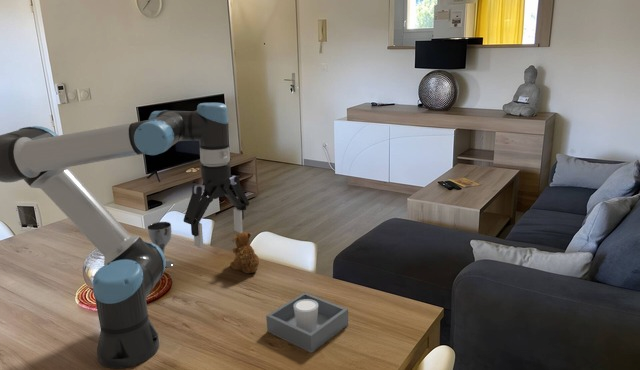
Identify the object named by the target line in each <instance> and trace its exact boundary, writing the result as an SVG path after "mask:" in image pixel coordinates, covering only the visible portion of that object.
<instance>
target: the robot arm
mask: <svg viewBox="0 0 640 370" xmlns="http://www.w3.org/2000/svg"><path fill="white" fill-rule="evenodd" d="M228 114H229V113H228V107H227V105H226V104H225V103H222V102H202V103H201V102H200V103H198V105H197V107H196V110H194V111H193V110H192V111H189V110H188V111H187V110H168V109H163V110H154V111H152V112H151V113H150V115H149V117H148V119H145V120H141V121H136V122H130V123H126V124H125V123H124V124H119V125H112V126H106V127H103V128H102V127H100V128H95V129H90V130H88V129H87V130H84V131H79V132H78V131H77V132H72V133H66V134H60V135H58V134H57V133H56V132H55V131H54V130H52V129H50V128H47V127H44V126H38V125H35V126H33V125H32V126H26V127H25V126H24V127H22V128H21V127H20V128H19V129H18V130H17V129H16V130H14V131H11V132H6V133H3V134H0V183H6V184H7V183H14V182H18V181H22V180H23V181H24V182H25V183H26V184H27V185H28V186H29V187H30V188H33V189H40V190H41V191H42V192H43V193H44V194H45V195H46V196H47V197H48V198H49V199H50V200H51V201H52V202H53V203H54V204H55V206H57V207H58V208H59V210H61V212H62V213H63V214H64V215H65V216H66V217H67V218H68V219H69V220H70V221H71V223H73V225H75V226H76V228H77V229H78V230H79V231H80V232H81V233H82V234H83V235H84V236H85V237H86V238H87V239H88V240H89V241H90V243H91V244H92V245H93V246H94V247H95V248H96V249H97V250H98V251H99V252H100V253H101V254H102V255H103V257H104V258H103V259H104V261H103V264H104V265H103V266H101V267H100V268H99V269H98V270H97V271H96V272H95V273H94V275H93V278H92V286H93V287H92V292H93V296H94V299H95V306H96V310H97V316H98V323H99V327H100V333H99V339H98V342H97V343H98V344H97V347H96V354H97V359H98V362H99V363H100V365H102V366H103V367H105V368H110V369H124V368H129V367H134V366H137V365H139V364H142V363H144V362H146V361H148V360H149V359H151V358H152V357H153V356H154V355H155V354H156V353H157V352H158V350H159V348H160V339H159V334H158V332H157V331H156V329H155V327H154V325H153V324H152V322H151V320H150V318H149V312H148V305H147V304H148V303H147V299H148V296H149V295H150V293H151V292H152V291H153V289H154V288H155V286H156V285H157V283H159V282H160V281H161V279H162V277H163V275H164V273H165V270H166V268H165V267H166V260H167V259H166V256H165V252H164V253H163V252H162V250H161V249H160V248H159V247H158V246H157V245H155V244H153V243H152V242H148V241H144V240H143V239H142V238H141V237H140V235H133V234H130V232H128V231H127V230H126V228H124V227H123V225H121V223H120V222H119V221H118V219H116V218H115V217H114V215H112V213H110V211H109V210H108V209H107V208H106V207H105V205H103V203H102V202H101V201H100V200H99V199H98V198H97V197H96V196H95V195H94V194H93V193H92V192H91V190H89V188H88V187H87V186H86V185H85V184H84V183H83V182H82V181H81V179H80V178H79V177H78V176H77V175H76V174H75V173H74V172H73V171H72V169H71V168H70V167H75V166H81V165H87V164H93V163H99V162H106V161H110V160H115V159H121V158H122V159H123V158H128V157H134V156H139V155H149V156H157V155H159V154H163V153H165V152H167V151H169V149H170V148H171V147H172V146H174V145H175V144H177V143H179V142H183V141H184V142H185V141H194V142H195V141H198V142H199V157H200V158H199V160H200V163H201V165H200V174H201V179H202V184H201V185H196V184H193V185H192V187H191V188H192V189H191V195H190V199H189V202H188V205H187V209H186V211H185V215H184V217H183V220H182V221H183V223H186V224H189V225H190V228H191V229H190V231H191V235H192V236H193V241H194V246H196V247H197V248H200V249H202V248H204V239H203V237H204V236H203V224H202V223H201V220H202V219H203V216H204V215H205V213H206V211H207V209H208V208H209V205H210V204H211V203H212V202H213V201H214V200H217V199H219V198H224V197H226V199H228V201H229V202H230V203H231V204H232V205H233V206H234V207H235V208H233V227H234V228H233V229H234V232H237V233H242V232H244V231H243V227H244V225H243V220H244V218H245V216H244V215H245V213H244V212H245V211H246V210H247V207H248V206H249V205H250V202H249V200H248V197H247V195H246V193H245V191H244V189H243V187H242V185H241V181H240V177H239V176H237V175H233V174H231V163H229V162H230V160H231V154H230V152H231V150H230V136H229V135H230V133H229V132H230V130H229V127H230V126H229V124H230V121H229V116H228ZM230 186H231V188H232V190H233V191H234V192H233V191H232V190H231V189H230ZM234 193H235V194H234Z"/></svg>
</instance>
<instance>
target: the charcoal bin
mask: <svg viewBox="0 0 640 370" xmlns="http://www.w3.org/2000/svg"><path fill="white" fill-rule="evenodd" d="M303 299H311V300H314V301H316V302H317V303H318V318H317V329H315V330H314V331H312V332H311V333H310V332H308V331H305V330H303V329H301V328H299V327H297V326H296V320H295V314H294V304H295V303H296V302H297V301H299V300H303ZM265 317H266V329H267V331H266V332H267V333H269V334H272V335H273V336H276V337H278V338H280V339H282V340H285V341H286V342H288V343H290V344H292V345H295V346H296V347H299V348H300V349H303V350H305V351H307V352H309V353H311V354H312V353H313V352H315V351H317V350H318V349H319V348H320V347H321V346H323V345H324V344H325V343H326V342H328V341H329V340H330V339H333V337H334V336H336V335H338V333H340V332H341V331H342V330H343V328H344V329H345V328H346V327H348V326H349V308H346V307H344V306H341V305H339V304H337V303H334V302H331V301H328V300H326V299H323V298H320V297H319V296H315V295H313V294H310V293H307V292H305V291H304V292H303V293H301V294H299V295H297V296H296V297H294V298H293V299H291V300H289V301H288V302H286V303H285V304H283V305H281V306H279V307H278V308H276V309H274V310H273V311H271V312H269V313H268V314H266V315H265ZM347 325H348V326H347Z"/></svg>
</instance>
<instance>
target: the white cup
mask: <svg viewBox="0 0 640 370" xmlns="http://www.w3.org/2000/svg"><path fill="white" fill-rule="evenodd" d="M294 314H295V320H296V326H297V327H299V328H301V329H303V330H305V331H308V332H310V333H311V332H312V331H314V330H315V329H317V318H318V303H317V302H316V301H314V300H311V299H303V300H299V301H297V302H296V303H295V304H294Z"/></svg>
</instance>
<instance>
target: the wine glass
mask: <svg viewBox="0 0 640 370" xmlns="http://www.w3.org/2000/svg"><path fill="white" fill-rule="evenodd" d="M147 233H148V237H149V239H150V243H153V244H155V245H157V246H158V247H159V248H160V249H161V250H162V252H163V253H164V254H165V249H166V247H167V245H168V244H169V242H170V241H171V240H172V239H171V238H172V225H171V222H169V221H158V222H153V223H151V224H149V225H147ZM174 264H175V261H174V260H173V259H166V267H168V268H171V267H173V265H174Z"/></svg>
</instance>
